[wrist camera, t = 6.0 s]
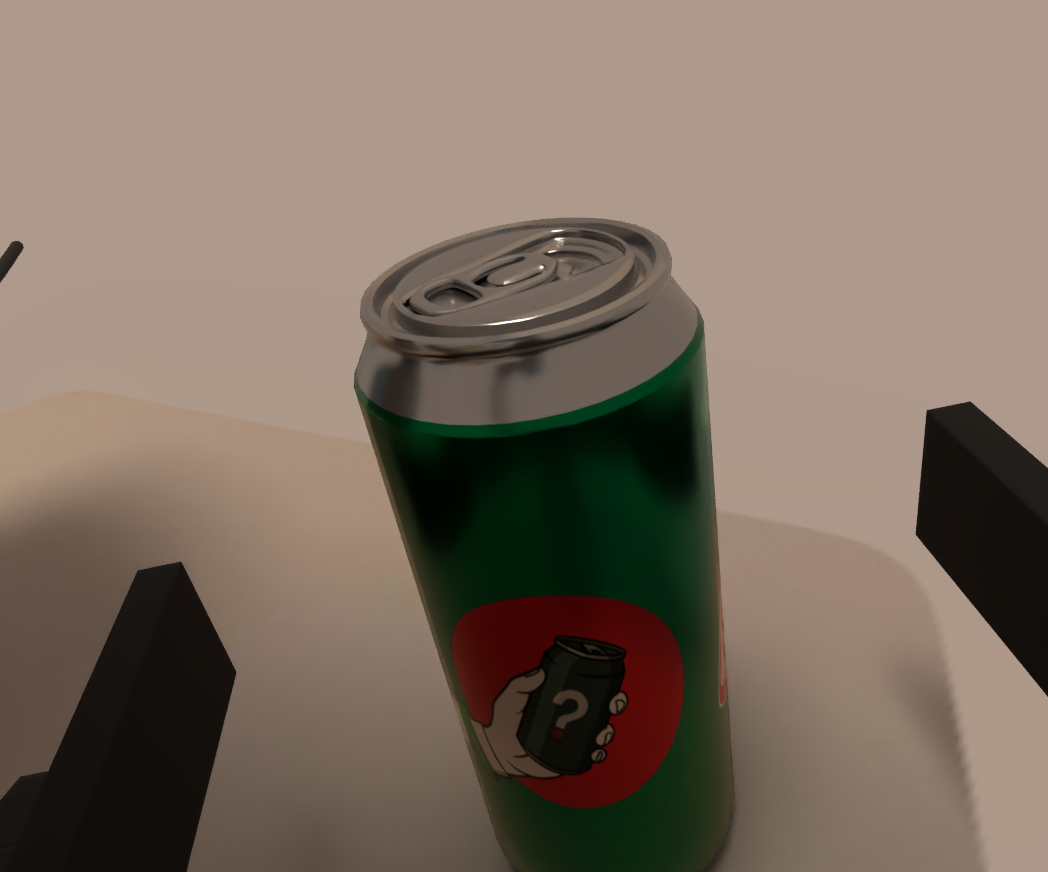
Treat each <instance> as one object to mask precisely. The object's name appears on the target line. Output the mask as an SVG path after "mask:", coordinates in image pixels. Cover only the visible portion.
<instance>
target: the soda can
mask: <svg viewBox="0 0 1048 872" xmlns="http://www.w3.org/2000/svg"><path fill="white" fill-rule="evenodd" d="M671 267H672V257H671V255H670V253H669V250H668V247H667V245H666V243H665V242H664V241H663V240H662V239H661V238H660V237H659V236H658V235H657V234H655V233H653V232H652V231H650V230H648V229H646V228H643V227H640V226H638V225H635V224H630V223H626V222H622V221H615V220H608V219H597V218H554V219H541V220H533V221H524V222H518V223H513V224H506V225H501V226H497V227H492V228H488V229H483V230H480V231H476V232H472V233H468V234H465V235H462V236H459V237H456V238H452V239H450V240H446V241H444V242H441V243H439V244H436V245H434V246H431V247H428V248H426V249H424V250H422V251H420V252H418V253H416V254H413V255H411V256H409V257H407V258H406V259H404V260H402V261H401V262H399V263H397V264H395V265H394V266H392V267H391V268H389V269H388V270H386V271H385V272H384V273H382V274H381V275H380V276H379V277H378V278H377V279H376V280H375V281H373V282H372V283H371V285H370V286H369V287H368V288H367V290H366V291H365V293H364V295H363V297H362V300H361V309H360V318H361V320H362V323H363V325H364V327H365V329H366V331H367V337H366V340H365V344H364V347H363V350H362V353H361V356H360V359H359V362H358V364H357V368H356V370H355V374H354V375H355V376H354V389H355V392H356V395H357V398H358V402H359V405H360V408H361V411H362V414H363V417H364V421H365V424H366V427H367V430H368V433H369V436H370V440H371V443H372V446H373V449H374V452H375V455H376V459H377V462H378V465H379V468H380V471H381V474H382V478H383V481H384V484H385V487H386V490H387V493H388V497H389V500H390V503H391V506H392V509H393V512H394V516H395V519H396V522H397V525H398V528H399V531H400V535H401V538H402V541H403V544H404V547H405V550H406V554H407V557H408V560H409V563H410V566H411V569H412V573H413V576H414V579H415V582H416V585H417V588H418V592H419V595H420V598H421V601H422V604H423V607H424V611H425V614H426V617H427V620H428V623H429V626H430V630H431V633H432V636H433V639H434V642H435V645H436V649H437V652H438V655H439V658H440V661H441V664H442V668H443V671H444V674H445V677H446V680H447V683H448V687H449V690H450V693H451V696H452V699H453V702H454V706H455V709H456V712H457V715H458V718H459V721H460V725H461V728H462V731H463V734H464V737H465V740H466V744H467V747H468V750H469V753H470V756H471V759H472V763H473V766H474V769H475V772H476V775H477V778H478V782H479V785H480V788H481V791H482V794H483V797H484V801H485V804H486V807H487V810H488V813H489V816H490V820H491V823H492V826H493V829H494V832H495V835H496V838H497V841H498V843H499V844H500V846H501V848H502V850H503V852H504V854H505V856H506V857H507V858H508V859H509V861H510V862H511V863H512V865H513V866H514V867H515V868H516V870H517V871H518V872H700V871H701V870H702V869H703V868H704V867H705V866H706V865H707V864H708V863H709V861H710V860H711V859H712V857H713V856H714V855H715V854H716V852H717V851H718V849H719V847H720V845H721V844H722V842H723V840H724V838H725V836H726V834H727V831H728V828H729V825H730V822H731V819H732V814H733V807H734V799H735V796H734V777H733V762H732V747H731V731H730V716H729V701H728V686H727V670H726V655H725V640H724V624H723V609H722V594H721V579H720V563H719V548H718V533H717V518H716V502H715V487H714V472H713V456H712V443H711V442H712V441H711V427H710V411H709V397H708V380H707V366H706V350H705V334H704V321H703V318H702V316H701V314H700V311H699V309H698V308H697V306H696V305H695V304H694V303H693V302H692V301H691V299H690V298H689V297H688V296H687V295H686V293H685V292H684V291H683V290H682V289H681V288H680V286H679V285H678V284H677V283H676V281H675V280H674V279H673V277H672V276H671Z"/></svg>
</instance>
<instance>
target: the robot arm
mask: <svg viewBox="0 0 1048 872" xmlns="http://www.w3.org/2000/svg"><path fill="white" fill-rule="evenodd" d="M23 248H24V247H23V244H22V243H20V242H19V241H14V242H12V243H11V244H10V246H9V247H8V249H7V250H6V251H5V253H4V254H3V256H2V257H1V258H0V282H1V281H2V280H3V278H4V277H5V275H6V274H7V273H8V271H9V269H10V268H11V267H12V265H13V264H14V262H15V261H16V259H17V258H18V256H19V255H20V253H21V252H22V250H23ZM916 535H917V536H918V538H919V539H920V540H921V542H922V543H923V544H924V545H925V547H926V548H927V549H928V550H929V551H930V553H931V554H932V555H933V556H934V558H935V559H936V560H937V561H938V563H939V564H940V565H941V566H942V567H943V569H944V570H945V571H946V572H947V574H948V575H949V576H950V577H951V578H952V580H953V581H954V582H955V583H956V585H957V586H958V587H959V588H960V590H961V591H962V592H963V593H964V594H965V596H966V597H967V598H968V599H969V601H970V602H971V603H972V604H973V605H974V606H975V608H976V609H977V610H978V612H979V613H980V614H981V615H982V616H983V618H984V619H985V620H986V621H987V623H988V624H989V625H990V626H991V627H992V629H993V630H994V631H995V632H996V634H997V635H998V636H999V637H1000V639H1001V640H1002V641H1003V642H1004V643H1005V645H1006V646H1007V647H1008V648H1009V649H1010V651H1011V652H1012V653H1013V654H1014V656H1015V657H1016V658H1017V659H1018V661H1019V662H1020V663H1021V664H1022V665H1023V667H1024V668H1025V669H1026V670H1027V672H1028V673H1029V674H1030V675H1031V676H1032V678H1033V679H1034V680H1035V681H1036V683H1037V684H1038V685H1039V686H1040V688H1041V689H1042V690H1043V691H1044V692H1045V694H1046V695H1047V696H1048V468H1047V467H1046V466H1045V465H1044V464H1042V463H1041V462H1040V461H1039V460H1038V459H1037V458H1035V457H1034V456H1033V455H1032V454H1030V453H1029V452H1028V451H1027V450H1026V449H1025V448H1024V447H1022V446H1021V445H1020V444H1019V443H1018V442H1017V441H1015V440H1014V439H1013V438H1012V437H1011V436H1010V435H1009V434H1007V433H1006V432H1005V431H1004V430H1003V429H1002V428H1000V427H999V426H998V425H997V424H996V423H995V422H994V421H992V420H991V419H990V418H989V417H988V416H987V415H985V414H984V413H983V412H982V411H981V410H979V409H978V408H977V407H976V406H975V405H974V404H973V403H971V402H966V403H961V404H956V405H951V406H946V407H941V408H936V409H931V410H927V413H926V424H925V436H924V448H923V458H922V469H921V481H920V492H919V503H918V515H917V526H916ZM235 676H236V670H235V668H234V666H233V664H232V662H231V660H230V658H229V656H228V654H227V652H226V650H225V648H224V646H223V644H222V642H221V640H220V638H219V636H218V634H217V632H216V630H215V628H214V626H213V624H212V622H211V620H210V618H209V616H208V614H207V612H206V610H205V608H204V606H203V604H202V602H201V600H200V598H199V596H198V594H197V592H196V590H195V588H194V586H193V584H192V582H191V580H190V578H189V576H188V574H187V572H186V570H185V568H184V566H183V564H182V562H177V563H172V564H167V565H162V566H157V567H152V568H147V569H142V570H138V571H137V573H136V575H135V578H134V580H133V582H132V584H131V587H130V589H129V591H128V593H127V596H126V598H125V600H124V602H123V605H122V607H121V609H120V611H119V614H118V616H117V618H116V620H115V623H114V625H113V627H112V629H111V632H110V634H109V636H108V638H107V641H106V643H105V645H104V647H103V649H102V652H101V654H100V656H99V658H98V661H97V663H96V665H95V667H94V670H93V672H92V674H91V676H90V679H89V681H88V683H87V685H86V688H85V690H84V692H83V694H82V697H81V699H80V701H79V703H78V706H77V708H76V710H75V712H74V715H73V717H72V719H71V721H70V724H69V726H68V728H67V730H66V733H65V735H64V737H63V739H62V742H61V744H60V746H59V748H58V751H57V753H56V755H55V757H54V760H53V762H52V764H51V766H50V769H49V771H46V772H41V773H36V774H31V775H26V776H21V777H20V778H19V779H18V780H17V781H16V782H15V784H14V785H13V786H12V787H11V788H10V789H9V791H8V792H7V793H6V794H5V795H4V797H3V798H2V799H1V800H0V872H187V868H188V864H189V860H190V856H191V852H192V848H193V844H194V840H195V836H196V832H197V828H198V824H199V820H200V816H201V812H202V808H203V804H204V800H205V796H206V792H207V788H208V784H209V780H210V776H211V772H212V768H213V764H214V760H215V756H216V752H217V748H218V744H219V740H220V736H221V732H222V728H223V724H224V720H225V716H226V712H227V708H228V704H229V700H230V696H231V692H232V688H233V684H234V680H235Z"/></svg>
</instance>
